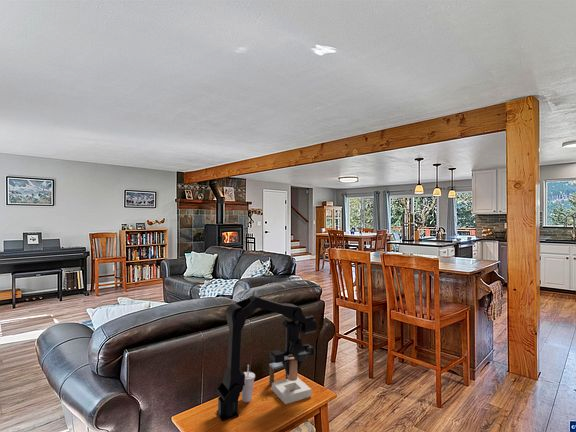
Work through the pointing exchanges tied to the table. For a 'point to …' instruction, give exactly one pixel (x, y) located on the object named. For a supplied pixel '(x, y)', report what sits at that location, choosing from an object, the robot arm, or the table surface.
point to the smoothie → (248, 386)
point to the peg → (292, 369)
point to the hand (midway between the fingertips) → (292, 373)
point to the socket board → (286, 386)
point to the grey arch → (272, 367)
